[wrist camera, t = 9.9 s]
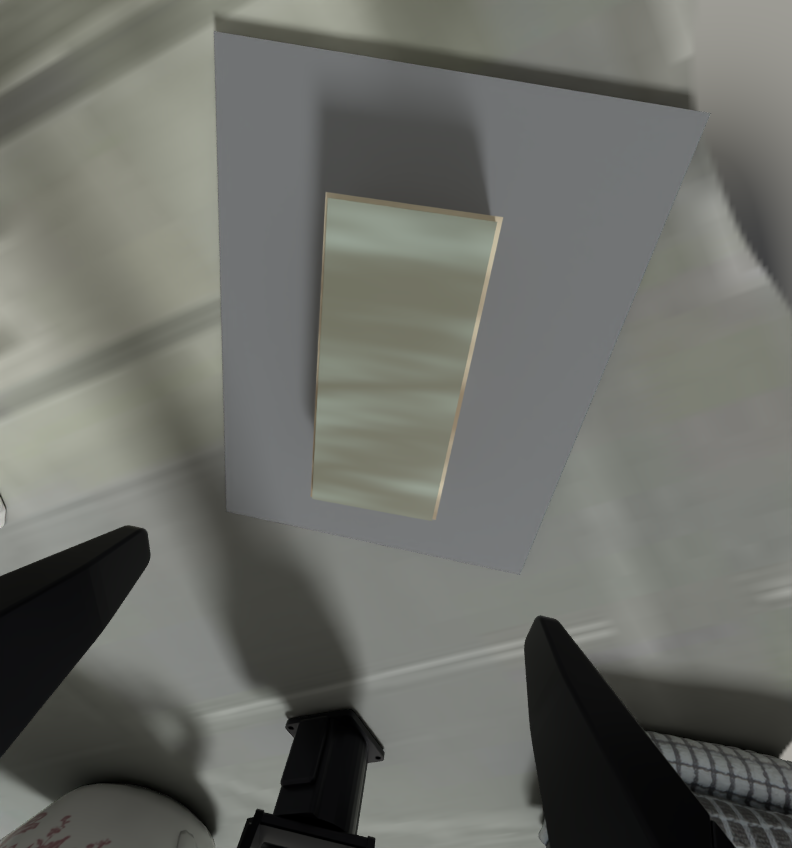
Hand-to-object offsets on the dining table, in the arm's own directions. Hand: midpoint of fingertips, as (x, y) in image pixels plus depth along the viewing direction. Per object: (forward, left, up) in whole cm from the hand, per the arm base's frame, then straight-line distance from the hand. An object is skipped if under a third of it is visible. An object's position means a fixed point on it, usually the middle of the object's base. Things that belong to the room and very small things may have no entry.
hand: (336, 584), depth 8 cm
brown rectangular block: (-3, +2, -10) cm, 10 cm away
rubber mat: (+2, -1, -12) cm, 12 cm away
